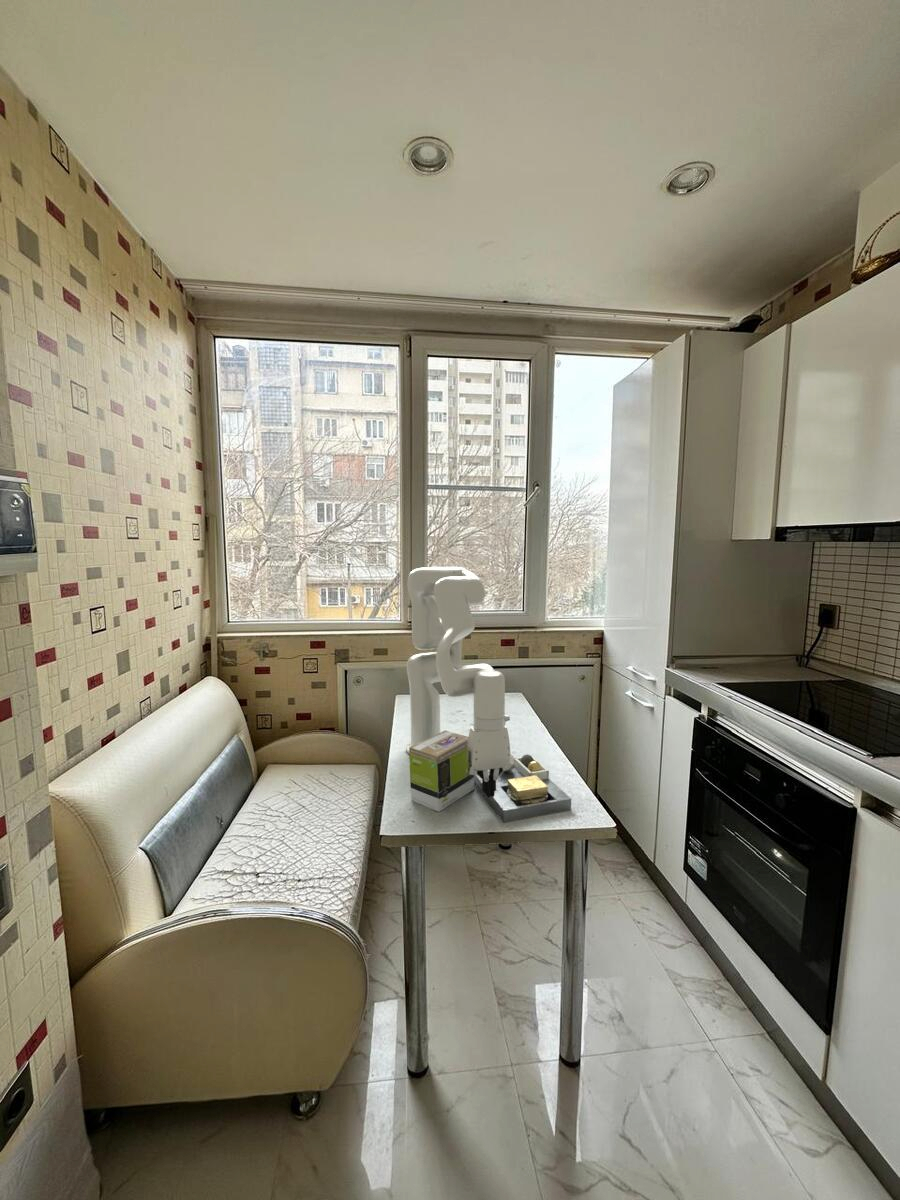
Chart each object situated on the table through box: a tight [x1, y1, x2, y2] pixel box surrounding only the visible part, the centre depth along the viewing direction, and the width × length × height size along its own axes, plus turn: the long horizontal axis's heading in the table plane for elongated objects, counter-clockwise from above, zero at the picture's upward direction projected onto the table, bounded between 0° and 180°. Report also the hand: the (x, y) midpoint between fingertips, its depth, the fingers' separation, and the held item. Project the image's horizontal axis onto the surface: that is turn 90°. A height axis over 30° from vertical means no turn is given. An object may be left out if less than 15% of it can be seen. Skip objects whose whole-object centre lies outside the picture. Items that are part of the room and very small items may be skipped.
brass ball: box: [528, 760, 541, 772], centre depth 134 cm, size 4×4×4 cm
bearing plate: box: [474, 767, 572, 823], centre depth 130 cm, size 22×18×3 cm
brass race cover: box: [508, 775, 548, 800], centre depth 125 cm, size 6×8×2 cm
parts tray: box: [514, 755, 550, 780], centre depth 136 cm, size 10×6×2 cm, turn 17°
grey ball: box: [521, 754, 534, 768], centre depth 138 cm, size 4×4×4 cm
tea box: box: [408, 730, 475, 812], centre depth 129 cm, size 15×10×15 cm
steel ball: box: [504, 754, 516, 772], centre depth 137 cm, size 5×5×5 cm
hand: (489, 794), depth 122 cm, fingers closed
